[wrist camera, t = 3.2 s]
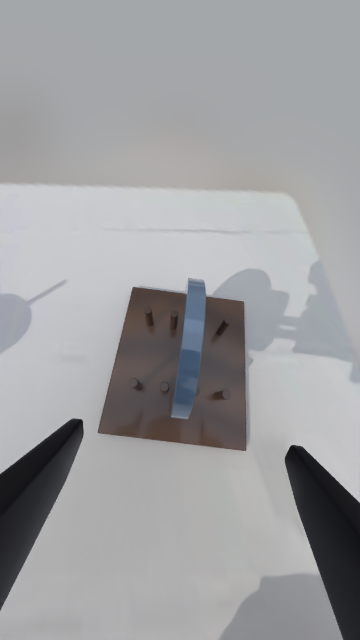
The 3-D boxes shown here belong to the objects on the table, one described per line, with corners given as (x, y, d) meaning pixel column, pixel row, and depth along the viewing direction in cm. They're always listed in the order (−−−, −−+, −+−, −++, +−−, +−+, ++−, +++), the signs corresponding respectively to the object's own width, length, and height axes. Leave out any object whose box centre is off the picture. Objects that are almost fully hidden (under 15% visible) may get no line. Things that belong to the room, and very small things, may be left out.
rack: (243, 449, 20) (263, 460, 16) (99, 431, 19) (83, 438, 15) (242, 304, 26) (255, 286, 22) (133, 290, 26) (127, 269, 22)
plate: (181, 413, 20) (196, 432, 10) (169, 411, 20) (171, 429, 10) (191, 311, 24) (210, 248, 14) (181, 310, 24) (192, 246, 14)
